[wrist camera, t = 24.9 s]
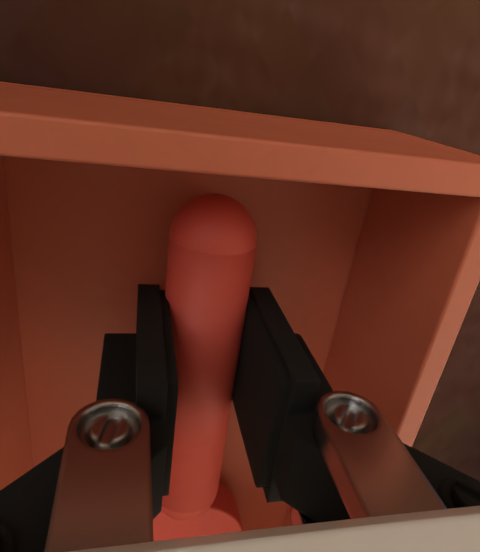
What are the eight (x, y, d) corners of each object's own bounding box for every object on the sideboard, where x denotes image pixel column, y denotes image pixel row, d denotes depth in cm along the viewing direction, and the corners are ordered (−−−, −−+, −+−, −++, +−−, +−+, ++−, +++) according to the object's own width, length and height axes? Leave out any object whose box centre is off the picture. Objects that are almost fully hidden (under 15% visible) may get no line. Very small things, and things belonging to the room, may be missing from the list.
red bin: (283, 538, 19) (322, 668, 15) (30, 569, 17) (-4, 733, 13) (394, 130, 12) (527, 169, 8) (-26, 77, 9) (-149, 94, 5)
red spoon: (116, 175, 10) (110, 201, 8) (298, 190, 11) (328, 215, 9) (110, 565, 16) (107, 628, 14) (229, 550, 17) (240, 607, 15)
